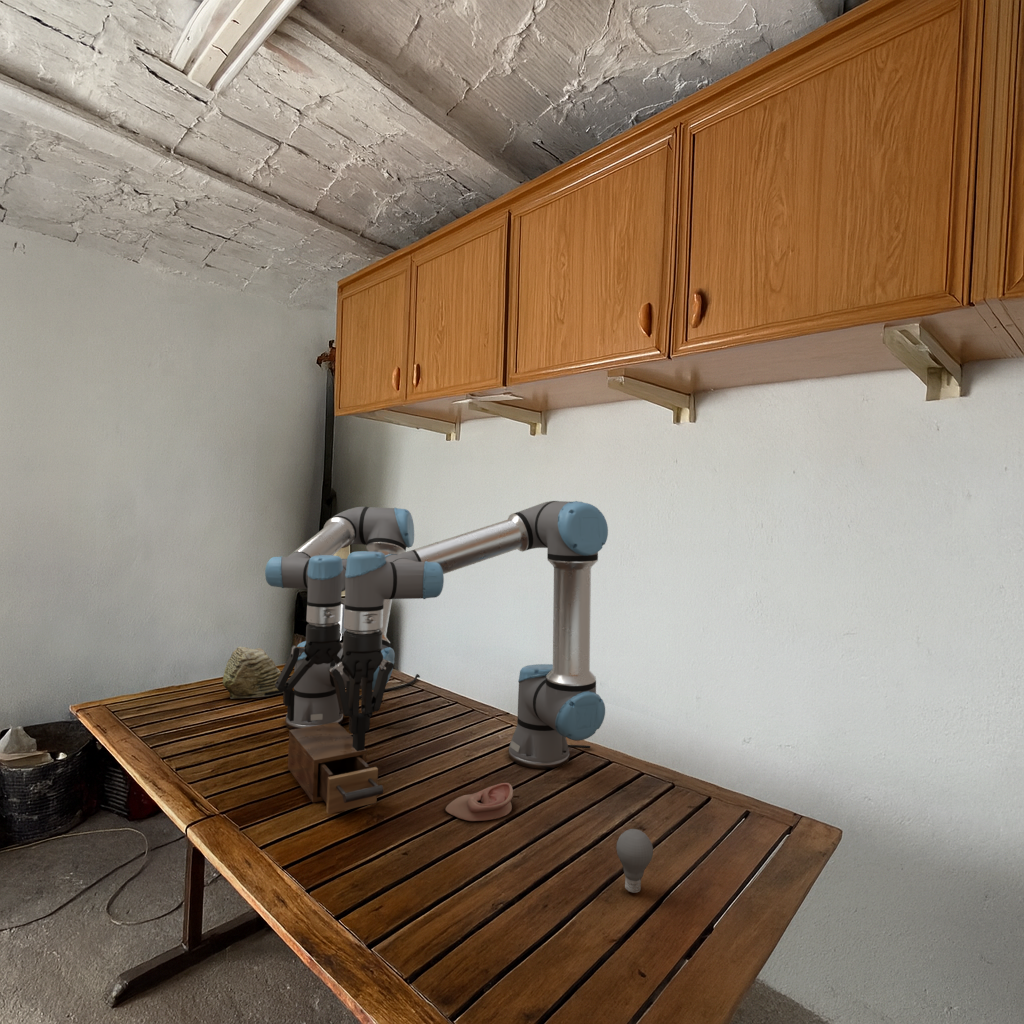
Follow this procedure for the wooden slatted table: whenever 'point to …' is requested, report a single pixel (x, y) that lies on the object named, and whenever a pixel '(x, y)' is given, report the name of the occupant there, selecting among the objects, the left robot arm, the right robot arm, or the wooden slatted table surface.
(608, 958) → the wooden slatted table surface
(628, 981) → the wooden slatted table surface
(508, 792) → the anatomical model
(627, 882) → the light bulb
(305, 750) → the cabinet
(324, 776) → the drawer
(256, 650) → the fossil
